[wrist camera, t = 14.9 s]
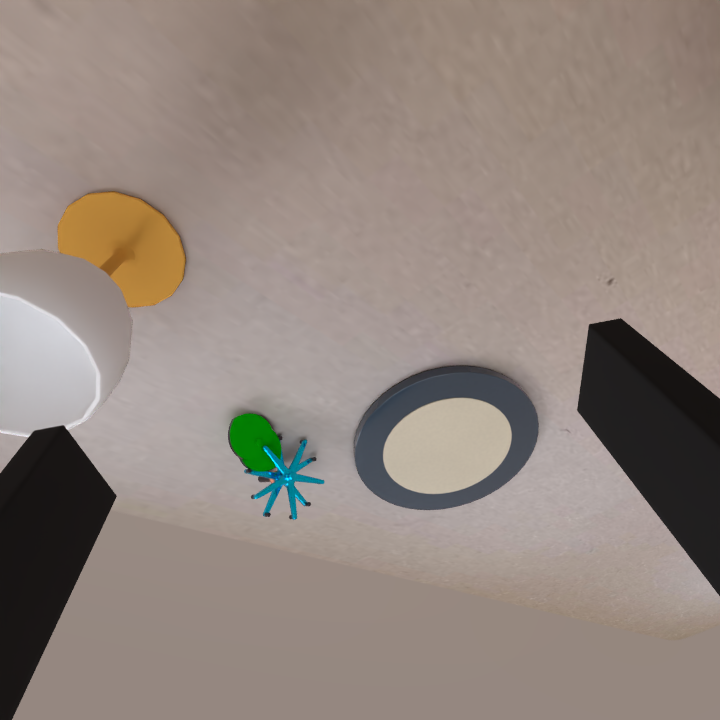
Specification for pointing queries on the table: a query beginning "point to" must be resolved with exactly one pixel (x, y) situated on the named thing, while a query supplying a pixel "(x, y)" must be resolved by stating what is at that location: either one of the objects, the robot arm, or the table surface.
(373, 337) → the table surface
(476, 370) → the plate
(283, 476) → the spiky blue green toy
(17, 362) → the cup
